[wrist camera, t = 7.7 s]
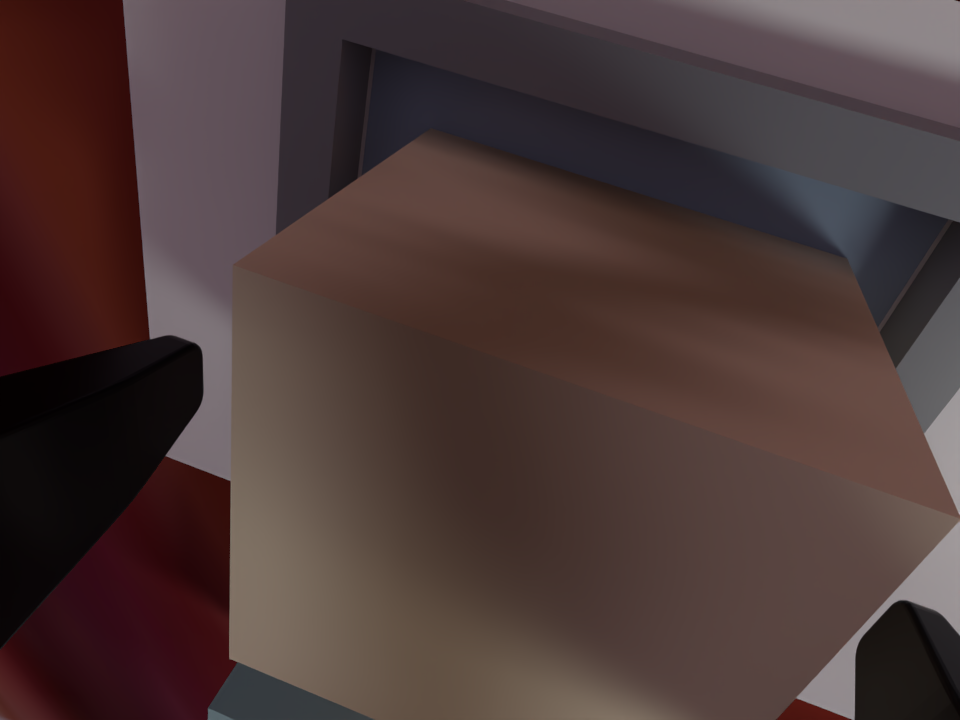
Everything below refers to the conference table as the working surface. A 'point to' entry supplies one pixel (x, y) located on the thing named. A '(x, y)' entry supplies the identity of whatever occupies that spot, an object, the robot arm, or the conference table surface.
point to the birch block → (558, 452)
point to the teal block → (271, 700)
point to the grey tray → (571, 155)
